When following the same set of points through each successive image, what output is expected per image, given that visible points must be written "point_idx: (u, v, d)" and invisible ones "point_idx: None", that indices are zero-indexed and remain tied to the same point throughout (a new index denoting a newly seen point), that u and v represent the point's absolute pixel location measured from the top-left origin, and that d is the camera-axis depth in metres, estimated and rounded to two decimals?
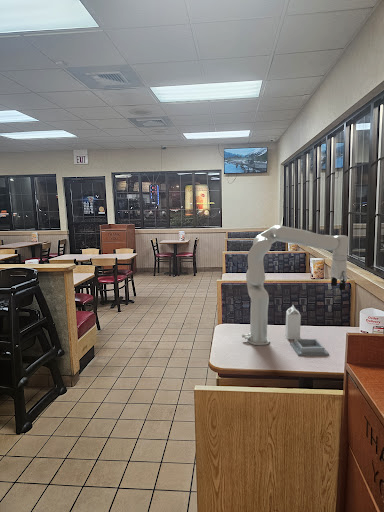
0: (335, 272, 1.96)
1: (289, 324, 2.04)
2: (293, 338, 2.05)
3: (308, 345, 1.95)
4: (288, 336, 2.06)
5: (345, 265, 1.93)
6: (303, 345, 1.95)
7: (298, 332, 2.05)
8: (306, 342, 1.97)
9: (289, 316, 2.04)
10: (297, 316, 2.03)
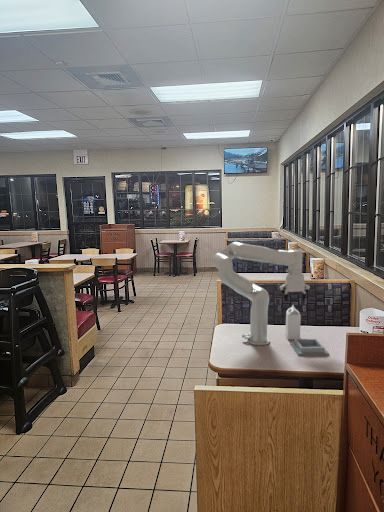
0: (299, 286, 2.01)
1: (289, 324, 2.04)
2: (293, 338, 2.05)
3: (308, 345, 1.95)
4: (288, 336, 2.06)
5: None
6: (303, 345, 1.95)
7: (298, 332, 2.05)
8: (306, 342, 1.97)
9: (289, 316, 2.04)
10: (297, 316, 2.03)
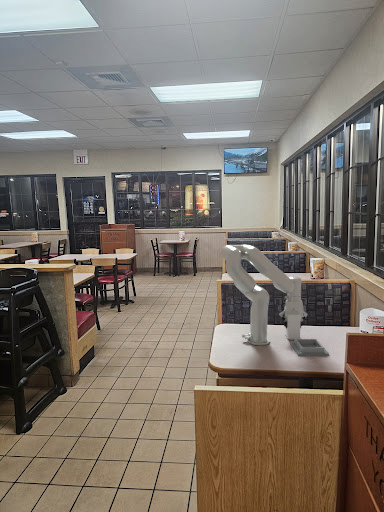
0: (297, 312, 2.04)
1: (289, 324, 2.04)
2: (293, 338, 2.05)
3: (308, 345, 1.95)
4: (288, 336, 2.06)
5: None
6: (303, 345, 1.95)
7: (298, 332, 2.04)
8: (306, 342, 1.97)
9: (289, 316, 2.04)
10: (297, 316, 2.03)
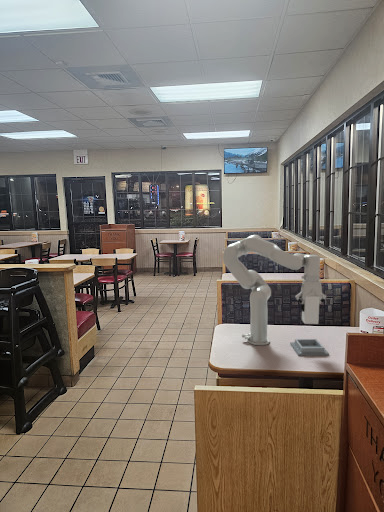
0: (316, 294, 1.85)
1: (307, 307, 1.85)
2: (311, 322, 1.87)
3: (308, 345, 1.95)
4: (305, 320, 1.87)
5: None
6: (303, 345, 1.95)
7: (316, 315, 1.86)
8: (306, 342, 1.97)
9: (307, 298, 1.85)
10: (315, 298, 1.84)
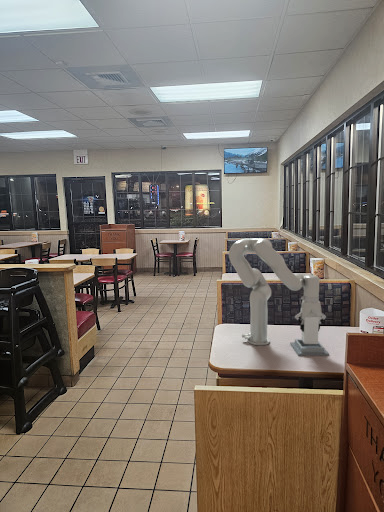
0: None
1: (306, 327, 1.87)
2: (311, 342, 1.88)
3: (308, 345, 1.95)
4: (305, 340, 1.88)
5: None
6: (303, 345, 1.95)
7: (316, 336, 1.87)
8: None
9: (306, 318, 1.86)
10: (315, 318, 1.86)
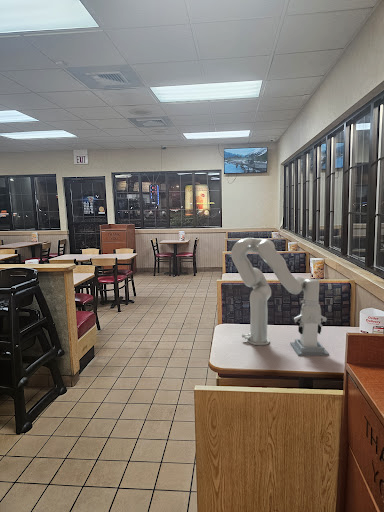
0: (315, 318, 1.87)
1: (305, 333, 1.87)
2: None
3: None
4: (304, 346, 1.89)
5: None
6: None
7: (315, 342, 1.88)
8: None
9: (305, 325, 1.87)
10: (314, 325, 1.86)
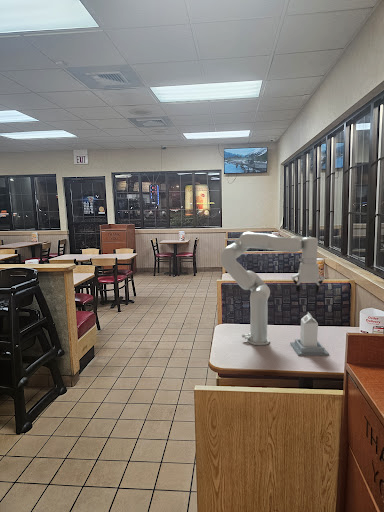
0: (312, 276, 1.86)
1: (305, 333, 1.87)
2: None
3: None
4: (304, 346, 1.89)
5: None
6: None
7: (315, 342, 1.88)
8: None
9: (305, 325, 1.87)
10: (314, 325, 1.86)
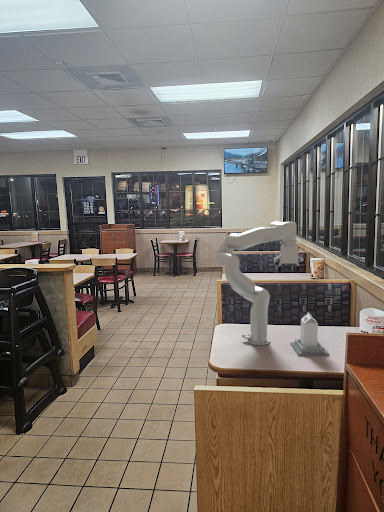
0: (292, 257, 2.02)
1: (305, 333, 1.87)
2: None
3: None
4: (304, 346, 1.89)
5: None
6: None
7: (315, 342, 1.88)
8: None
9: (305, 325, 1.87)
10: (314, 325, 1.86)
